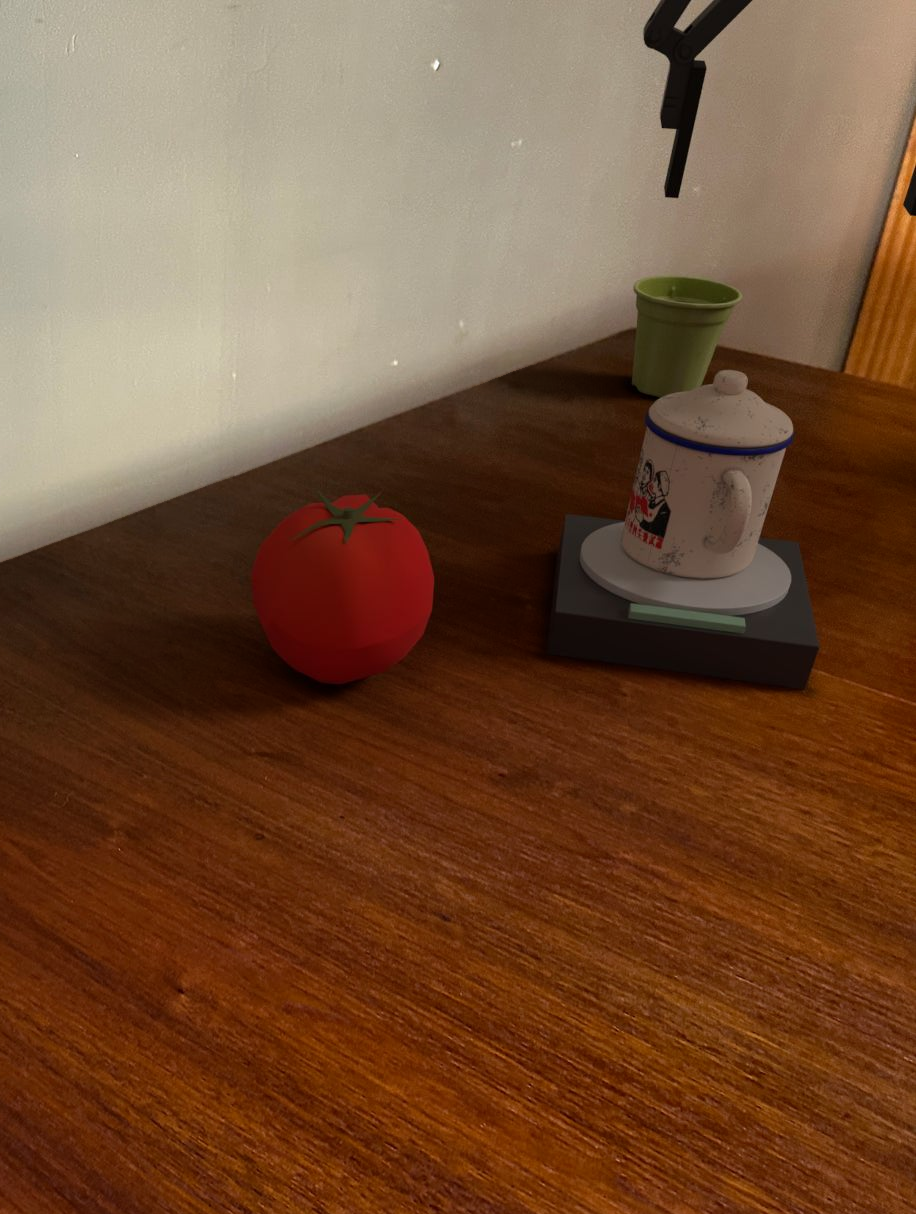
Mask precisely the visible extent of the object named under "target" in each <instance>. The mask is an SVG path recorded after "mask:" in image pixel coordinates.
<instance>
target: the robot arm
mask: <svg viewBox="0 0 916 1214" xmlns="http://www.w3.org/2000/svg"><path fill="white" fill-rule="evenodd" d="M691 2H692V0H659V3H658V4H657V5H656V7H655V8H654V10H653V12H652V13H651V15H650V17H649V18H648V19H647V21H646V22H645V24H644V27H643V32H642V36H643V42H644V45H645V46H646V47H647V48H648V49H651V50H654V51H656V52H658V53H660V54H662V55H664V56H665V57H666V58H667V60H668V62H669V64H668V65H669V66H668V71H667V75H666V79H665V85H664V91H663V95H662V101H661V104H660V110H659V120H660V126H661V129H664V130H665V129H666V130H675V134H674V138H673V143H672V147H671V153H670V157H669V163H668V165H667V166H668V167H667V172H666V176H665V181H664V186H663V190H664V198H668V199H679V197H680V193H681V188H682V184H683V180H684V179H683V178H684V173H685V170H686V166H687V161H688V155H689V151H690V147H691V142H692V137H693V134H694V133H693V132H694V129H695V124H696V120H697V115H698V110H699V106H700V101H701V96H702V92H703V87H704V83H705V77H706V75H707V70H708V69H707V64H706V60H698V59H696V58H697V57H698V56H699V54H701V53H702V52H703V50H705V48H707V47H708V46H709V45H710V44H711V43H712V42H713V41H714V40H715V39H716V38H717V36H719V35H720V33H722V32H723V31H724V29H726V28H727V27H728V25H730V24H731V23H732V21H734V19H736V18H737V17H738V15H740V13H742V12H743V11H744V9H745V8H746V7H748V6H749V4H750V3H752V2H753V0H712V1H711V2H710V3H709V4H708V6H706V7H705V8H704V9H703V10H702V11H701V12H700V13H699V14H698V15H697V16H696V18H694V19H693V20H692V21H691V23H690V24H688V25H687V27H686V28H684V29H683V30H681V29H679V28H677V27H676V25H677V23H678V22H679V20H680V19H681V17H682V16H683V14H684V13H685V11H686V9H687V8H688V6H689V5H690V3H691ZM902 207H904V209H905V210H906V212H907V214H908V215H909V216H911V217H916V164H914V168H913V171H912V175H911V178H910V181H909V184H908V187H907V190H906V194H905V197H904V200H903V203H902Z"/></svg>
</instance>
